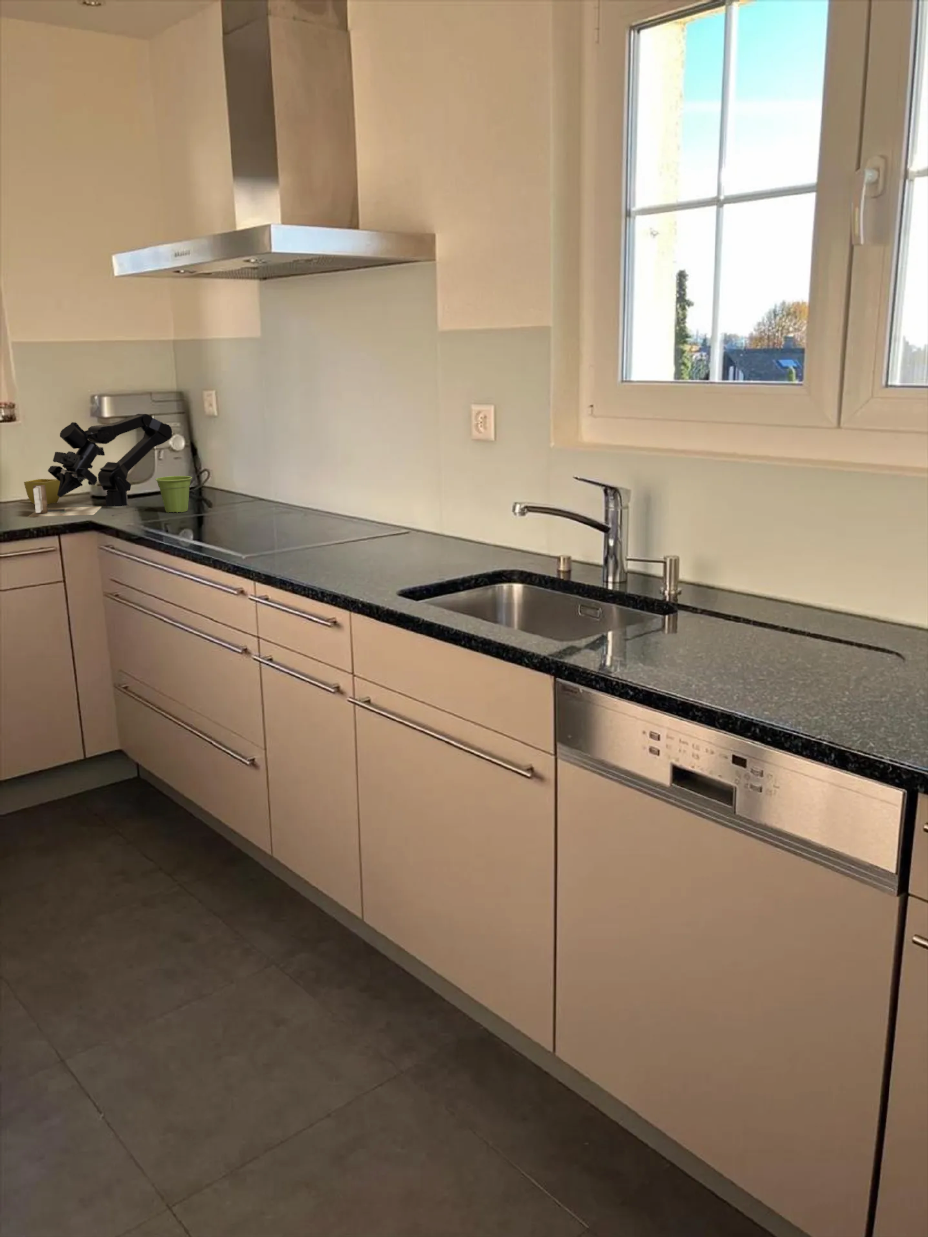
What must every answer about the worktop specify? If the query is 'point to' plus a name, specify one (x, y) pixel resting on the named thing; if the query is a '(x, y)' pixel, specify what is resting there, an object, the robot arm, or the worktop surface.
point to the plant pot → (175, 492)
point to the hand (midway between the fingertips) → (58, 496)
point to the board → (69, 511)
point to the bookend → (42, 500)
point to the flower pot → (50, 486)
